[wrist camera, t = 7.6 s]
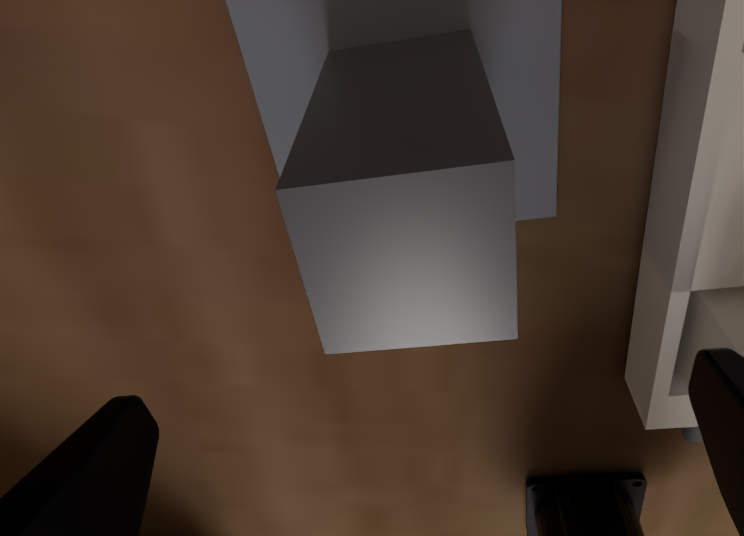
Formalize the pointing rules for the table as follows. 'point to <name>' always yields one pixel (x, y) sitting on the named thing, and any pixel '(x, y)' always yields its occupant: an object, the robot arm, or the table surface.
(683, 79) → the power strip
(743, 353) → the block
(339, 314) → the grey rectangular block
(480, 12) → the slate mat
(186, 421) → the table surface
